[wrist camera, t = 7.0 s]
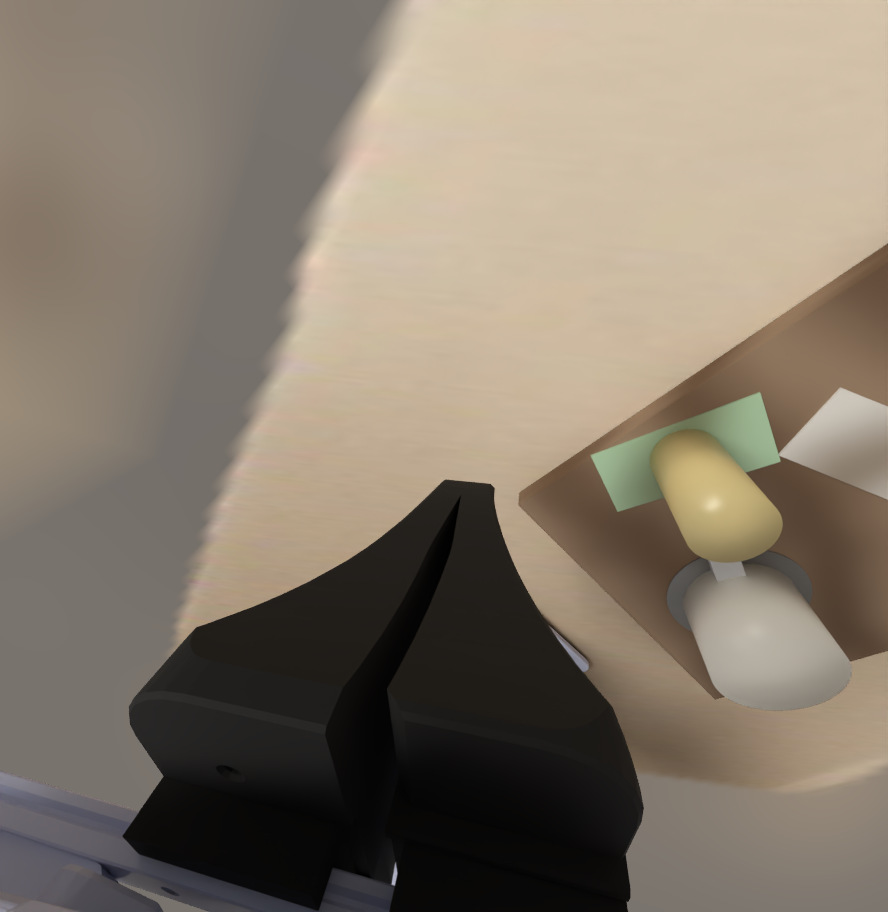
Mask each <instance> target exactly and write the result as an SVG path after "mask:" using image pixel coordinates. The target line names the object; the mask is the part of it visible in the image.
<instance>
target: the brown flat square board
mask: <svg viewBox="0 0 888 912" xmlns="http://www.w3.org/2000/svg"><path fill="white" fill-rule="evenodd" d="M684 429H697V430H702V431H705V432H707V433H709V434H711V435H712V436H714V437H715V438H716V439H717V440H718V442H719V443H720V444H721V445H722V446H723V447H724V449H725V450H726V451H727V452H728V453H729V454H730V455H731V457H732V458H733V459H734V460H735V461H736V462H737V463H738V465H739V466H740V467H741V468H742V469H743V470H744V471H745V473H746V474H747V475H748V476H749V477H750V478H751V480H752V481H753V482H754V483H755V484H756V485H757V486H758V488H759V489H760V490H761V491H762V492H763V493H764V494H765V496H766V497H767V498H768V499H769V500H770V501H771V502H772V504H773V505H774V506H775V507H776V508H777V509H778V511H779V512H780V514H781V517H782V521H783V527H782V531H781V534H780V536H779V538H778V539H777V541H776V542H775V543H774V544H773V545H772V546H771V547H770V548H769V549H768V550H766V551H765V552H763V553H762V554H760V555H758V556H756V557H754V558H751V559H748V560H744V561H741V562H742V563H749V564H758V565H764V566H767V567H771V568H773V569H776V570H778V571H780V572H782V573H783V574H784V575H786V576H787V577H788V578H789V579H790V580H791V581H792V582H793V584H794V585H795V586H796V588H797V589H798V590H799V592H800V593H801V595H802V596H803V597H804V599H805V600H806V601H807V603H808V604H809V605H810V607H811V608H812V610H813V611H814V612H815V614H816V615H817V616H818V618H819V619H820V621H821V622H822V623H823V625H824V626H825V627H826V629H827V630H828V631H829V633H830V634H831V636H832V637H833V638H834V640H835V641H836V642H837V644H838V645H839V646H840V648H841V649H842V651H843V652H844V653H845V655H846V656H847V658H848V659H849V661H853V660H857V659H860V658H864V657H867V656H871V655H874V654H878V653H882V652H885V651H888V244H887V245H885V246H884V247H882V248H881V249H879V250H878V251H876V252H875V253H873V254H872V255H870V256H869V257H867V258H866V259H864V260H863V261H861V262H860V263H859V264H857V265H856V266H854V267H853V268H851V269H850V270H848V271H847V272H845V273H844V274H842V275H841V276H839V277H838V278H836V279H835V280H833V281H832V282H830V283H829V284H827V285H826V286H824V287H823V288H822V289H820V290H819V291H817V292H816V293H814V294H813V295H811V296H810V297H808V298H807V299H805V300H804V301H802V302H801V303H799V304H798V305H796V306H795V307H793V308H792V309H790V310H789V311H787V312H786V313H785V314H783V315H782V316H780V317H779V318H777V319H776V320H774V321H773V322H771V323H770V324H768V325H767V326H765V327H764V328H762V329H761V330H759V331H758V332H756V333H755V334H753V335H752V336H750V337H749V338H748V339H746V340H745V341H743V342H742V343H740V344H739V345H737V346H736V347H734V348H733V349H731V350H730V351H728V352H727V353H725V354H724V355H722V356H721V357H719V358H718V359H716V360H715V361H714V362H712V363H711V364H709V365H708V366H706V367H705V368H703V369H702V370H700V371H699V372H697V373H696V374H694V375H693V376H691V377H690V378H688V379H687V380H685V381H684V382H682V383H681V384H679V385H678V386H677V387H675V388H674V389H672V390H671V391H669V392H668V393H666V394H665V395H663V396H662V397H660V398H659V399H657V400H656V401H654V402H653V403H651V404H650V405H648V406H647V407H645V408H644V409H642V410H641V411H640V412H638V413H637V414H635V415H634V416H632V417H631V418H629V419H628V420H626V421H625V422H623V423H622V424H620V425H619V426H617V427H616V428H614V429H613V430H611V431H610V432H608V433H607V434H606V435H604V436H603V437H601V438H600V439H598V440H597V441H595V442H594V443H592V444H591V445H589V446H588V447H586V448H585V449H583V450H582V451H580V452H579V453H577V454H576V455H574V456H573V457H571V458H570V459H569V460H567V461H566V462H564V463H563V464H561V465H560V466H558V467H557V468H555V469H554V470H552V471H551V472H549V473H548V474H546V475H545V476H543V477H542V478H540V479H539V480H537V481H536V482H534V483H533V484H532V485H530V486H529V487H527V488H526V489H524V490H523V491H521V492H520V493H519V506H520V507H521V508H522V509H523V510H524V511H525V512H526V513H527V514H528V515H529V516H530V517H531V518H532V519H533V520H534V521H535V522H536V523H537V524H538V525H539V526H540V527H541V528H542V529H543V530H544V531H545V532H546V533H547V534H548V535H549V536H550V537H551V538H552V539H553V540H554V541H555V542H556V543H557V544H558V545H559V546H560V547H561V548H562V549H563V550H564V551H565V552H566V553H567V554H568V555H569V556H570V557H571V558H572V559H573V560H574V561H575V562H576V563H577V564H578V565H579V566H581V567H582V568H583V569H584V570H585V571H586V572H587V573H588V574H589V575H590V576H591V577H592V578H593V579H594V580H595V581H596V582H597V583H598V584H599V585H600V586H601V587H602V588H603V589H604V590H605V591H606V592H607V593H608V594H609V595H610V596H611V597H612V598H613V599H614V600H615V601H616V602H617V603H618V604H619V605H620V606H621V607H622V608H623V609H624V610H625V611H626V612H627V613H628V614H629V615H630V616H631V617H632V618H633V619H634V620H635V621H636V622H637V623H638V624H639V625H640V626H641V627H642V628H643V629H644V630H645V631H646V632H647V633H648V634H649V635H650V636H651V637H652V638H653V639H654V640H656V641H657V642H658V643H659V644H660V645H661V646H662V647H663V648H664V649H665V650H666V651H667V652H668V653H669V654H670V655H671V656H672V657H673V658H674V659H675V660H676V661H677V662H678V663H679V664H680V665H681V666H682V667H683V668H684V669H685V670H686V671H687V672H688V673H689V674H690V675H691V676H692V677H693V678H694V679H695V680H696V681H697V682H698V683H699V684H700V685H701V686H702V687H703V688H704V689H705V690H706V691H707V692H708V693H709V694H710V695H711V696H712V697H713V698H714V699H719V698H722V697H725V696H723V695H722V694H721V693H720V692H719V691H718V690H717V689H716V688H715V686H714V685H713V683H712V681H711V678H710V675H709V673H708V670H707V668H706V665H705V662H704V660H703V657H702V655H701V652H700V650H699V647H698V644H697V642H696V639H695V637H694V634H693V632H692V629H691V626H690V624H689V621H688V619H687V616H686V614H685V611H684V608H683V596H684V593H685V591H686V589H687V588H688V586H689V585H690V584H691V583H692V582H693V581H694V580H695V579H696V578H697V577H699V576H700V575H702V574H704V573H705V572H708V571H710V570H711V567H710V565H709V562H708V560H707V559H704V558H702V557H700V556H698V555H697V554H695V553H694V552H693V551H692V550H691V549H690V548H689V547H688V545H687V543H686V541H685V539H684V537H683V535H682V533H681V531H680V529H679V527H678V525H677V522H676V520H675V518H674V516H673V514H672V512H671V510H670V508H669V506H668V504H667V502H666V500H665V497H664V495H663V493H662V491H661V489H660V487H659V485H658V483H657V481H656V479H655V477H654V475H653V472H652V470H651V468H650V455H651V452H652V450H653V448H654V447H655V445H656V444H657V443H658V442H659V441H660V440H661V439H662V438H664V437H665V436H667V435H669V434H671V433H673V432H676V431H679V430H684Z"/></svg>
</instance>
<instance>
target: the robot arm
mask: <svg viewBox="0 0 888 912" xmlns="http://www.w3.org/2000/svg"><path fill="white" fill-rule="evenodd" d="M494 489H495V488H494V487H493V486H492V485H491V484H485V483H475V482H464V481H454V480H444V481H443V482H442V483H441V484H440V485H439V486H438V487H437V488H436V489H435V490H434V491H433V492H432V493H431V494H430V495H429V496H428V497H426V498H425V499H424V500H423V501H422V502H421V503H420V504H419V505H418V506H417V507H416V508H415V509H414V510H413V511H412V512H410V513H409V514H408V515H407V516H406V517H405V518H404V519H403V520H402V521H400V522H399V523H398V524H397V525H396V526H394V527H393V528H392V529H391V530H389V531H388V532H387V533H386V534H384V535H383V536H382V537H381V538H379V539H378V540H377V541H375V542H374V543H373V544H371V545H370V546H368V547H367V548H366V549H364V550H363V551H361V552H360V553H358V554H357V555H355V556H353V557H352V558H350V559H349V560H347V561H345V562H344V563H342V564H340V565H339V566H337V567H335V568H333V569H331V570H329V571H328V572H326V573H324V574H322V575H320V576H319V577H317V578H315V579H313V580H311V581H309V582H307V583H305V584H303V585H301V586H299V587H297V588H295V589H293V590H291V591H289V592H287V593H284V594H282V595H280V596H278V597H275V598H273V599H271V600H268V601H266V602H264V603H261V604H259V605H256V606H254V607H252V608H249V609H246V610H243V611H241V612H238V613H235V614H233V615H230V616H227V617H225V618H222V619H219V620H216V621H214V622H211V623H208V624H205V625H202V626H199V627H196V628H195V629H194V631H193V632H192V633H191V634H190V635H189V636H188V637H187V638H186V639H185V640H184V641H183V643H182V644H181V645H180V646H179V647H178V648H177V649H176V651H175V652H174V653H173V654H172V655H171V656H170V657H169V659H168V660H167V661H166V662H165V663H164V664H163V665H162V667H161V668H160V669H159V670H158V671H157V672H156V673H155V675H154V676H153V677H152V678H151V679H150V680H149V681H148V683H147V684H146V685H145V686H144V687H143V688H142V689H141V691H140V692H139V693H138V694H137V695H136V696H135V697H134V699H133V701H132V703H131V704H130V706H129V717H130V725H131V727H132V729H133V731H134V733H135V735H136V737H137V738H138V740H139V741H140V742H141V744H142V745H143V747H144V748H145V750H146V751H147V753H148V754H149V756H150V757H151V758H152V760H153V761H154V763H155V764H156V765H157V767H158V769H159V770H160V771H161V773H162V774H163V776H164V777H163V778H162V780H161V781H160V782H159V784H158V785H157V787H156V788H155V790H154V791H153V793H152V794H151V795H150V797H149V798H148V800H147V801H146V803H145V804H144V805H143V807H142V808H141V810H140V811H138V810H134V809H131V808H127V807H124V806H120V805H117V804H114V803H110V802H106V801H103V800H100V799H97V798H93V797H90V796H86V795H83V794H79V793H76V792H73V791H69V790H66V789H62V788H59V787H55V786H52V785H49V784H45V783H42V782H38V781H35V780H31V779H28V778H24V777H21V776H18V775H14V774H11V773H7V772H4V771H0V912H163V910H162V909H161V907H160V905H159V904H158V903H157V902H155V901H153V900H151V899H149V898H147V897H145V896H143V895H141V894H139V893H137V892H135V891H133V890H131V889H128V888H127V887H125V886H123V885H120V884H119V883H118V881H119V882H122V883H125V884H128V885H131V886H134V887H137V888H140V889H143V890H146V891H149V892H152V893H155V894H158V895H161V896H164V897H167V898H170V899H173V900H176V901H179V902H182V903H185V904H188V905H191V906H194V907H197V908H200V909H203V910H206V911H209V912H628V909H627V902H628V901H629V899H630V883H629V876H628V869H627V861H626V852H627V850H628V848H629V846H630V844H631V842H632V840H633V838H634V836H635V834H636V832H637V830H638V828H639V826H640V824H641V821H642V815H643V809H644V807H643V802H642V797H641V791H640V787H639V783H638V779H637V775H636V772H635V769H634V765H633V762H632V758H631V755H630V752H629V749H628V747H627V744H626V741H625V738H624V735H623V733H622V730H621V728H620V725H619V723H618V720H617V718H616V715H615V713H614V710H613V708H612V706H611V705H610V704H609V702H608V701H607V700H606V699H605V698H604V697H603V696H602V694H601V693H600V692H599V691H598V690H597V689H596V687H595V686H594V685H593V684H592V683H591V681H590V680H589V679H588V678H587V676H586V675H585V674H584V673H583V672H585V671H587V670H588V669H589V663H588V661H587V660H586V659H585V658H584V657H583V656H582V655H581V654H580V653H579V652H578V651H577V650H576V649H574V648H573V647H572V646H571V645H570V644H569V643H568V642H567V641H566V640H565V639H563V638H562V637H561V636H560V635H559V634H558V633H557V632H556V631H555V630H554V629H553V628H551V627H550V626H549V625H548V624H547V622H546V621H545V619H544V618H543V616H542V614H541V613H540V611H539V610H538V608H537V607H536V605H535V603H534V602H533V600H532V598H531V596H530V595H529V593H528V591H527V589H526V588H525V586H524V584H523V582H522V580H521V578H520V576H519V574H518V572H517V570H516V568H515V565H514V563H513V561H512V559H511V556H510V554H509V551H508V549H507V546H506V544H505V541H504V538H503V535H502V532H501V529H500V525H499V522H498V518H497V514H496V509H495V504H494ZM626 901H627V902H626Z"/></svg>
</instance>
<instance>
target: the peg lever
mask: <svg viewBox="0 0 888 912" xmlns="http://www.w3.org/2000/svg"><path fill="white" fill-rule="evenodd" d="M650 468H651V470H652V472H653V475H654V477H655V479H656V481H657V483H658V485H659V487H660V489H661V491H662V493H663V495H664V497H665V500H666V502H667V504H668V506H669V508H670V510H671V512H672V514H673V516H674V518H675V520H676V522H677V525H678V527H679V529H680V531H681V533H682V535H683V537H684V539H685V541H686V543H687V545H688V547H689V548H690V549H691V550H692V551H693V552H694V553H695V554H697V555H698V556H700V557H702V558H704V559H707V560H708V562H709V565H710V567H711V570H710V571H708V572H705V573H704V574H702V575H700V576H699V577H697V578H696V579H695V580H694V581H693V582H692V583H691V584H690V585H689V586H688V588H687V589H686V591H685V593H684V596H683V608H684V611H685V614H686V616H687V619H688V621H689V624H690V626H691V629H692V632H693V634H694V637H695V639H696V642H697V644H698V647H699V650H700V652H701V655H702V657H703V660H704V662H705V665H706V668H707V670H708V673H709V675H710V678H711V681H712V683H713V685H714V686H715V688H716V689H717V690H718V691H719V692H720V693H721V694H722V695H723V696H725V697H726V698H728V699H729V700H731V701H733V702H736V703H738V704H740V705H744V706H747V707H751V708H755V709H762V710H772V711H784V710H795V709H802V708H807V707H810V706H814V705H817V704H820V703H822V702H825V701H827V700H829V699H831V698H832V697H834V696H836V695H837V694H838V693H840V692H841V691H842V690H843V689H844V688H845V687H846V686H847V684H848V682H849V681H850V678H851V674H852V667H851V663H850V661H849V659H848V658H847V656H846V655H845V653H844V652H843V651H842V649H841V648H840V646H839V645H838V644H837V642H836V641H835V640H834V638H833V637H832V636H831V634H830V633H829V631H828V630H827V629H826V627H825V626H824V625H823V623H822V622H821V621H820V619H819V618H818V616H817V615H816V614H815V612H814V611H813V610H812V608H811V607H810V605H809V604H808V603H807V601H806V600H805V599H804V597H803V596H802V595H801V593H800V592H799V590H798V589H797V588H796V586H795V585H794V584H793V582H792V581H791V580H790V579H789V578H788V577H787V576H786V575H784V574H783V573H782V572H780V571H778V570H776V569H773V568H771V567H767V566H764V565H758V564H749V563H742V562H741V561H744V560H748V559H751V558H754V557H756V556H758V555H760V554H762V553H763V552H765V551H766V550H768V549H769V548H770V547H771V546H772V545H773V544H774V543H775V542H776V541H777V539H778V538H779V536H780V534H781V531H782V527H783V521H782V517H781V514H780V512H779V511H778V509H777V508H776V507H775V506H774V505H773V504H772V502H771V501H770V500H769V499H768V498H767V497H766V496H765V494H764V493H763V492H762V491H761V490H760V489H759V488H758V486H757V485H756V484H755V483H754V482H753V481H752V480H751V478H750V477H749V476H748V475H747V474H746V473H745V471H744V470H743V469H742V468H741V467H740V466H739V465H738V463H737V462H736V461H735V460H734V459H733V458H732V457H731V455H730V454H729V453H728V452H727V451H726V450H725V449H724V447H723V446H722V445H721V444H720V443H719V442H718V440H717V439H716V438H715V437H714V436H712V435H711V434H709V433H707V432H705V431H702V430H697V429H684V430H679V431H676V432H673V433H671V434H669V435H667V436H665V437H664V438H662V439H661V440H660V441H659V442H658V443H657V444H656V445H655V447H654V448H653V450H652V452H651V455H650Z"/></svg>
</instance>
